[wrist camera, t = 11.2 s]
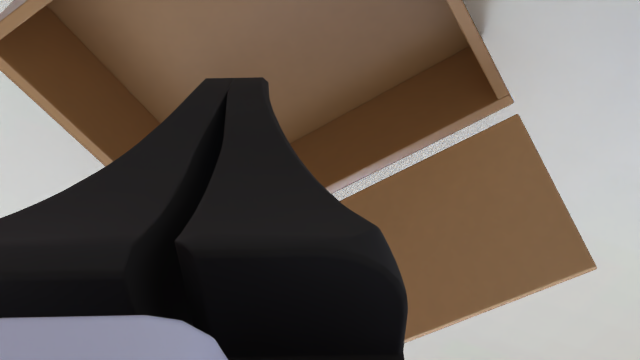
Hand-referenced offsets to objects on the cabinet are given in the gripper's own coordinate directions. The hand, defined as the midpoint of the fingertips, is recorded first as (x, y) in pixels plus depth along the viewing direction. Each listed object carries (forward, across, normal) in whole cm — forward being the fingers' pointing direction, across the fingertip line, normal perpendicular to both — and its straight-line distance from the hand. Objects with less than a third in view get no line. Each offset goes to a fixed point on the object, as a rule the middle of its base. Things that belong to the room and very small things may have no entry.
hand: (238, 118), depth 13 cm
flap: (+2, -3, +7) cm, 8 cm away
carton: (+10, 0, +2) cm, 10 cm away
